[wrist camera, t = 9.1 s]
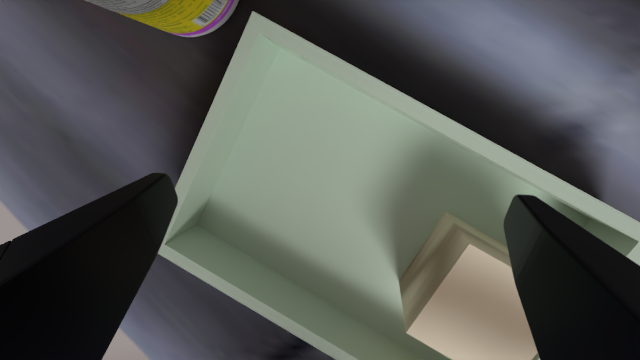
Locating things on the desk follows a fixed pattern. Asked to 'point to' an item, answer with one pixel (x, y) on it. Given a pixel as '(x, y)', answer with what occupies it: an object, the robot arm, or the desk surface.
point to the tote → (341, 195)
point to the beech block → (465, 296)
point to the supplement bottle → (175, 14)
